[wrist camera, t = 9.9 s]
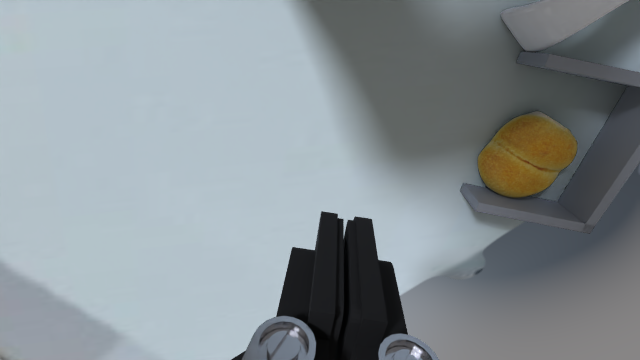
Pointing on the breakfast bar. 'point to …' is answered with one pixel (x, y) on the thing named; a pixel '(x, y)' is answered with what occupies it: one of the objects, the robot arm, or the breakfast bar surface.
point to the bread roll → (526, 155)
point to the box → (597, 166)
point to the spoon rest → (553, 20)
